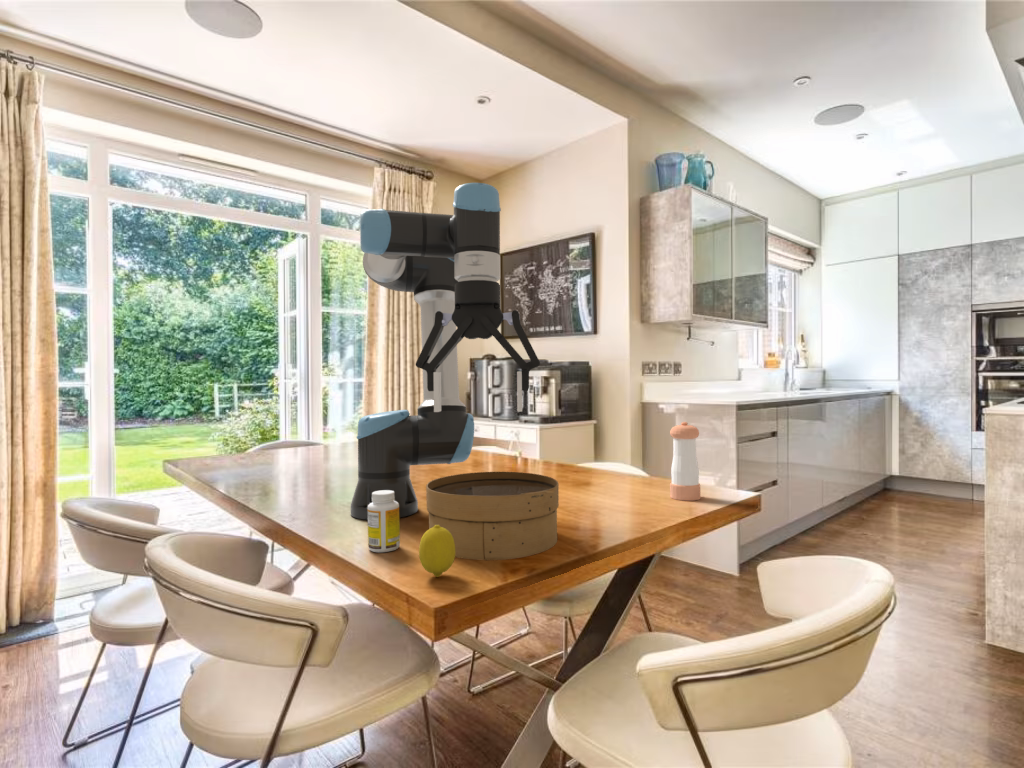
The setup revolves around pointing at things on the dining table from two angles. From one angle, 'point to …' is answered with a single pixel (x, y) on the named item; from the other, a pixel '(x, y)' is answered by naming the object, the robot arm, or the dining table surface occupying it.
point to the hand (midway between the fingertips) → (478, 411)
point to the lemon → (437, 550)
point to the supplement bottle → (383, 522)
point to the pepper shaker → (684, 463)
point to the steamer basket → (495, 513)
